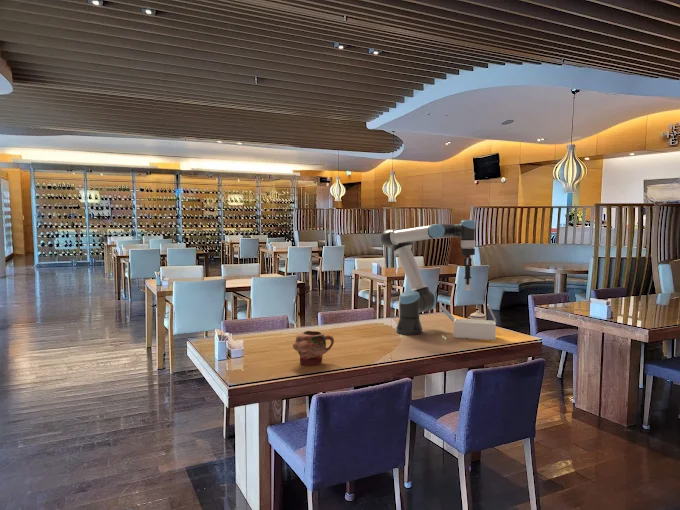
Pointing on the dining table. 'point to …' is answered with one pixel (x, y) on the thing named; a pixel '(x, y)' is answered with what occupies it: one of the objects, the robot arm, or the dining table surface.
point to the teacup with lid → (477, 316)
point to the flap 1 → (447, 313)
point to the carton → (474, 329)
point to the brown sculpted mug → (312, 347)
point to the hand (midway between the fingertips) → (467, 290)
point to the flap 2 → (491, 312)
